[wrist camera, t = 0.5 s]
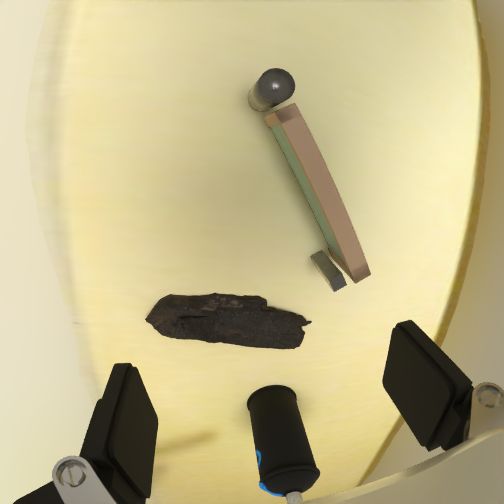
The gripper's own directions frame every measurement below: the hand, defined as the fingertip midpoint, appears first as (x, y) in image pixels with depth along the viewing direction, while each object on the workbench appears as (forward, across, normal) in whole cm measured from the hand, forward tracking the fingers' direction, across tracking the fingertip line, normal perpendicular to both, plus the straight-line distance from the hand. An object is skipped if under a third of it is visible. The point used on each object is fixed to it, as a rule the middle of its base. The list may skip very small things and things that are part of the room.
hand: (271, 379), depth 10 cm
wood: (+28, +2, +14) cm, 31 cm away
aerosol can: (+28, -3, +31) cm, 42 cm away
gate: (+26, -9, -2) cm, 28 cm away
